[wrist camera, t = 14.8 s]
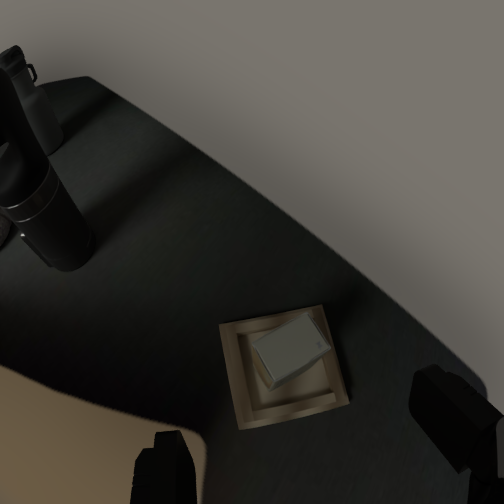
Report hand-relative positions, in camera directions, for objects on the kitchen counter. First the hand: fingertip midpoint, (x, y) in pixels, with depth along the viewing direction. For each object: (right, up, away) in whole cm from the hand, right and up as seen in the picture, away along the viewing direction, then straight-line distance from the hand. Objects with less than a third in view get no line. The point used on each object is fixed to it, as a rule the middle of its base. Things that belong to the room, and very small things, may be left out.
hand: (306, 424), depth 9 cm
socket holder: (+2, -9, +30) cm, 31 cm away
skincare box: (+2, -9, +29) cm, 31 cm away
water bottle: (-51, +31, +53) cm, 80 cm away
